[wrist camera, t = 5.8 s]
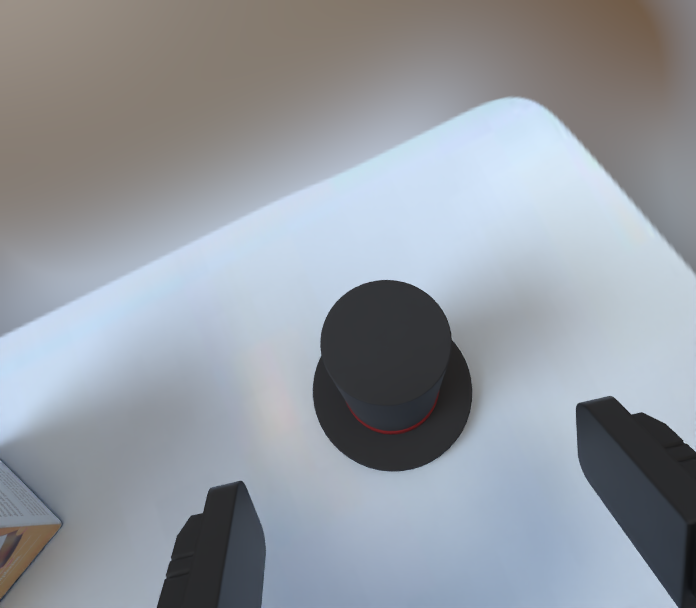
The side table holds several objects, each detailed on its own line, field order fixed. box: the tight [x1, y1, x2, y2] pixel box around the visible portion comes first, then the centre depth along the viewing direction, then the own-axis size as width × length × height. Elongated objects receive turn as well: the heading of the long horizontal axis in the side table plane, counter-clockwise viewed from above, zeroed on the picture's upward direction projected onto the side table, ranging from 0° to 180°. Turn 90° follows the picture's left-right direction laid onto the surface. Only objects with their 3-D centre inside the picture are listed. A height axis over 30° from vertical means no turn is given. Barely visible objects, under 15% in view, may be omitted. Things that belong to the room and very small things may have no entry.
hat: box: [313, 280, 472, 471], centre depth 19 cm, size 7×7×8 cm
